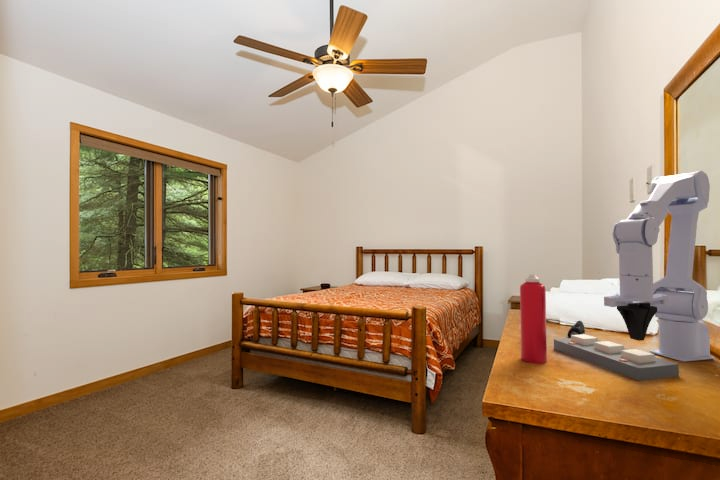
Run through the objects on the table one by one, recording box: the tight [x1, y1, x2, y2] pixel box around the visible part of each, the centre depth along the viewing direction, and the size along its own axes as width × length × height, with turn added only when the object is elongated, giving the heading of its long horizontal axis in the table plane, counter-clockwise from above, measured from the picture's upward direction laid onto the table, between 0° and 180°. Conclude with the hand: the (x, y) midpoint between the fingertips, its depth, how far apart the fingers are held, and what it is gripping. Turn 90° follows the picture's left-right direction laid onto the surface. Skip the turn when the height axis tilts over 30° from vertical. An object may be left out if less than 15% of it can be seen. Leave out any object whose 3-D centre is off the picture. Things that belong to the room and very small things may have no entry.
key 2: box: [621, 348, 656, 364], centre depth 78 cm, size 4×4×3 cm
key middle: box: [594, 340, 625, 354], centre depth 85 cm, size 4×4×3 cm
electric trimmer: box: [567, 320, 586, 338], centre depth 112 cm, size 4×16×3 cm, turn 144°
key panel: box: [553, 337, 680, 382], centre depth 85 cm, size 10×23×3 cm, turn 12°
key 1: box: [571, 333, 599, 346], centre depth 92 cm, size 4×4×3 cm
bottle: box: [519, 274, 548, 365], centre depth 86 cm, size 6×5×20 cm
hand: (637, 339), depth 78 cm, fingers closed
